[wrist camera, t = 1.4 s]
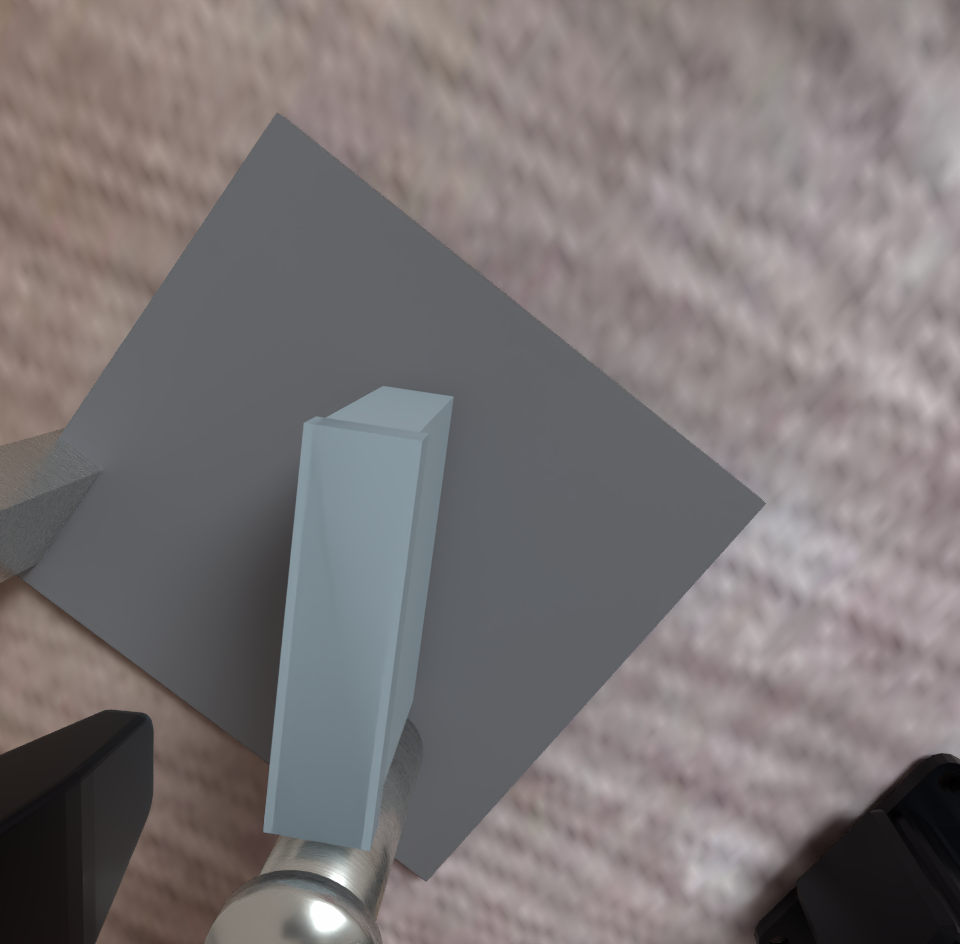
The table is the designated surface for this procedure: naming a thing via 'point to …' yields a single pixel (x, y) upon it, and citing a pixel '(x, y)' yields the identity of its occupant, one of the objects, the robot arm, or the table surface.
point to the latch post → (38, 496)
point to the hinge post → (324, 877)
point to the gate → (354, 610)
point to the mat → (464, 495)
